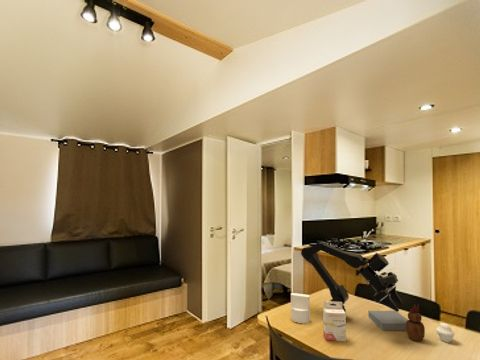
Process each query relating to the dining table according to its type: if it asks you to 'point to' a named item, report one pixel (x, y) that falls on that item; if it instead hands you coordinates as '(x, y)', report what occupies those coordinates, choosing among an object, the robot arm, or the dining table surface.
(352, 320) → the dining table surface
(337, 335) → the ink cartridge box
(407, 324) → the wooden figurine
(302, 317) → the base with upright slab
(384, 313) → the plinth
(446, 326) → the muffin
